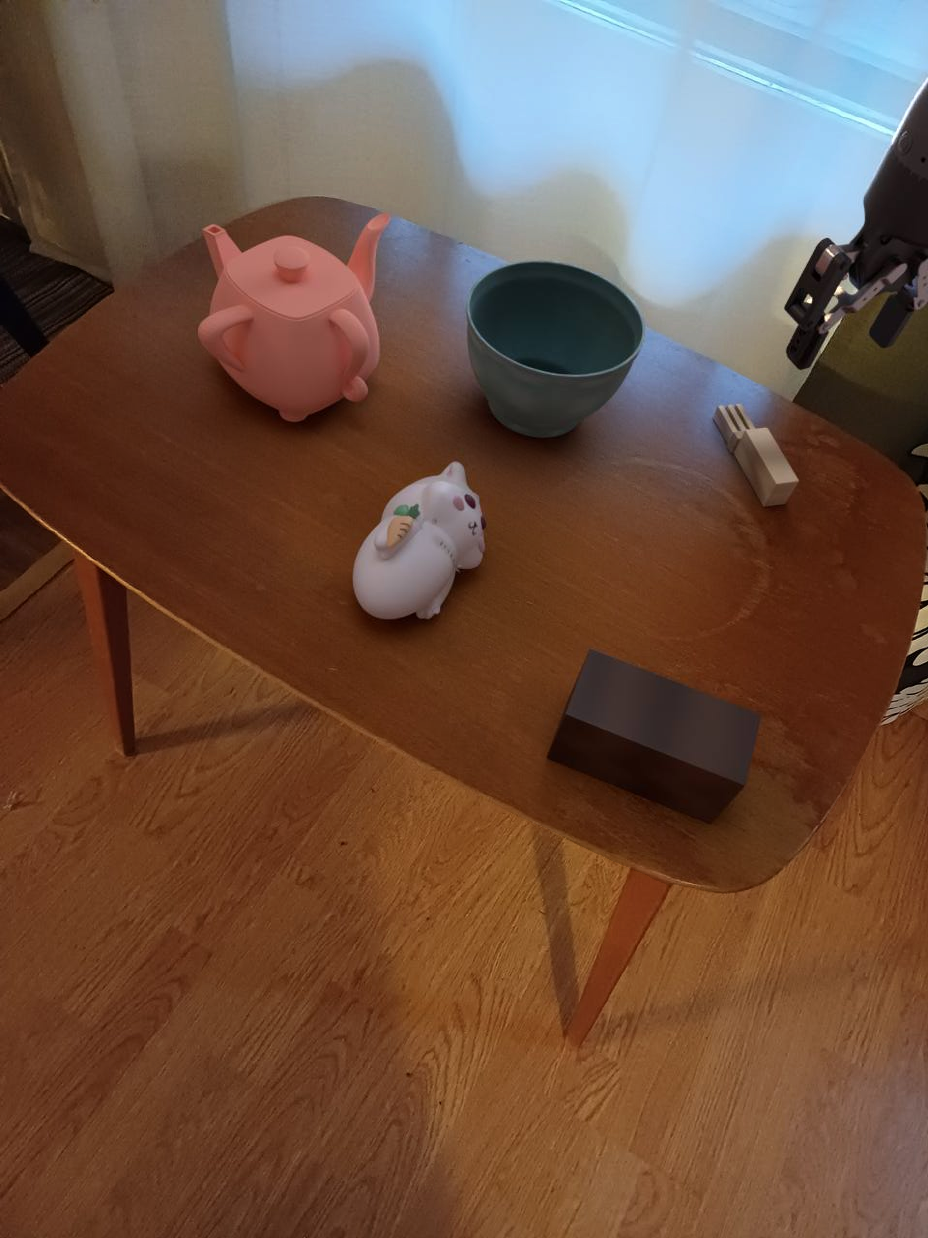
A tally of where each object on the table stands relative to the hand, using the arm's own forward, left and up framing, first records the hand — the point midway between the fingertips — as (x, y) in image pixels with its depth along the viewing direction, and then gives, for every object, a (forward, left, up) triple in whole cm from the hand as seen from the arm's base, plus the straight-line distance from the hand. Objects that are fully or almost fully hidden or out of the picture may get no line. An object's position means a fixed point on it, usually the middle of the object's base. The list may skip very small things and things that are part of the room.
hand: (838, 351), depth 73 cm
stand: (+21, +23, -17) cm, 36 cm away
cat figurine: (+34, +3, -18) cm, 38 cm away
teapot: (+40, -23, -18) cm, 49 cm away
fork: (-1, -5, -17) cm, 18 cm away
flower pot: (+18, -15, -18) cm, 29 cm away
